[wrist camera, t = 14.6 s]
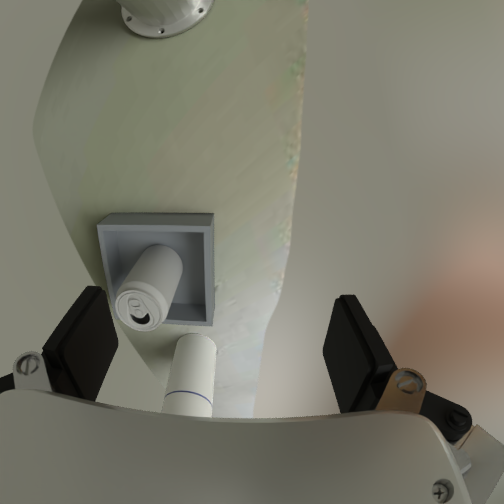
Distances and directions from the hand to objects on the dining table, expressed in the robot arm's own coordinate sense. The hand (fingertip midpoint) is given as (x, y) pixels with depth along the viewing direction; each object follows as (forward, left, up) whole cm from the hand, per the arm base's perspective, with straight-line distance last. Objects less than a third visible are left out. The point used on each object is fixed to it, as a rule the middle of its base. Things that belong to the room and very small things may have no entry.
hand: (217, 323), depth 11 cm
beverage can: (+12, -10, -28) cm, 32 cm away
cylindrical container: (+29, -6, -28) cm, 41 cm away
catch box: (+12, -10, -28) cm, 32 cm away
